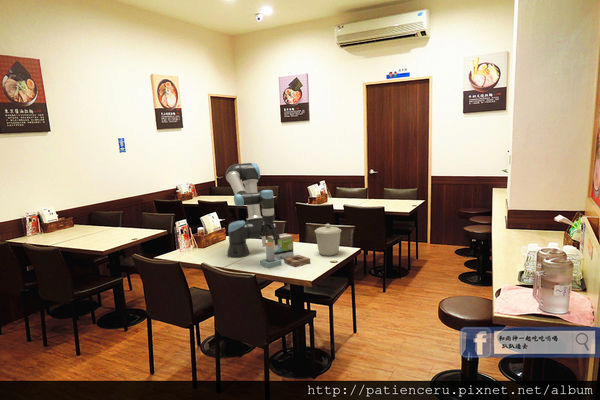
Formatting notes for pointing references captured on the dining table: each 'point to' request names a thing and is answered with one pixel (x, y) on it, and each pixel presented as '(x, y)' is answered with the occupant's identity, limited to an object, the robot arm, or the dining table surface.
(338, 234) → the canister
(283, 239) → the tea box
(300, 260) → the tray
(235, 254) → the robot arm
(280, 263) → the mount
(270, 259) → the lock pin
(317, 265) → the dining table surface
